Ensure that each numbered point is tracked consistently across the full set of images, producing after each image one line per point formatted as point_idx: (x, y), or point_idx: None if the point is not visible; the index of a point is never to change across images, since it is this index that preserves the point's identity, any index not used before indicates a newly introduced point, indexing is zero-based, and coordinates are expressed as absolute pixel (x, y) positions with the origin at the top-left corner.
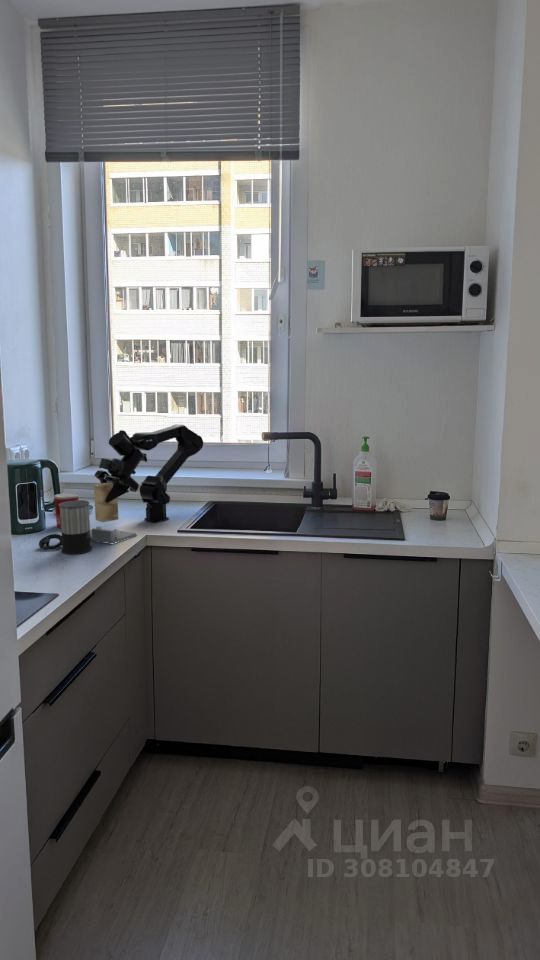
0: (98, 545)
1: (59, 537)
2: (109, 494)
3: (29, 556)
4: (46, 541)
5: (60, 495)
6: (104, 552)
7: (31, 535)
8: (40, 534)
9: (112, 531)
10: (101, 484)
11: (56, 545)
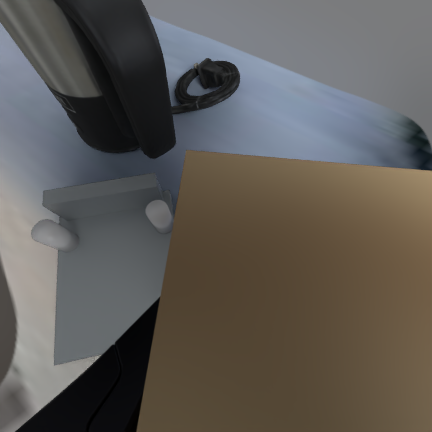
0: (105, 180)
1: (205, 96)
2: (151, 317)
3: (183, 41)
4: (201, 62)
5: None
6: (29, 147)
7: (381, 129)
8: (376, 149)
9: (43, 201)
10: (418, 311)
11: (179, 86)
